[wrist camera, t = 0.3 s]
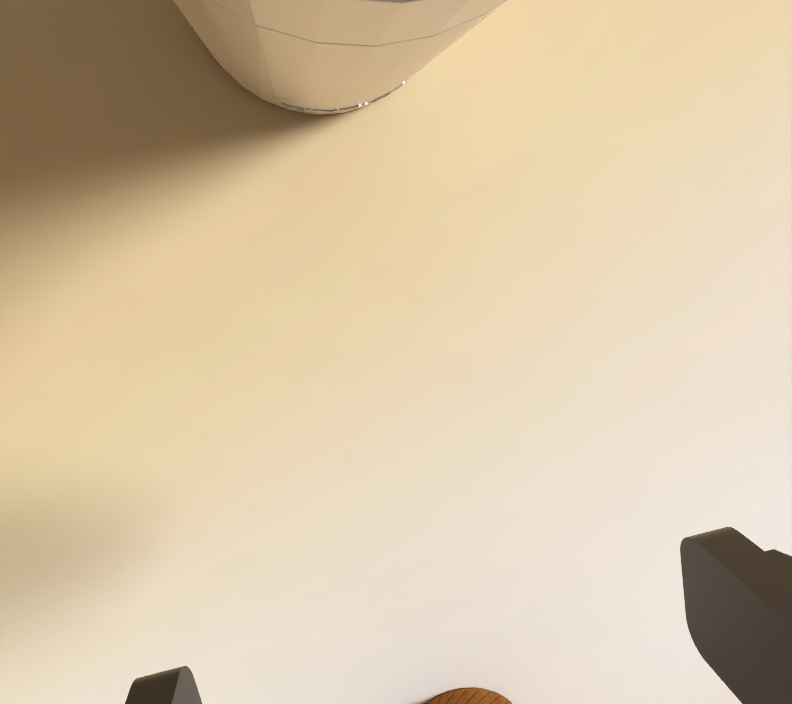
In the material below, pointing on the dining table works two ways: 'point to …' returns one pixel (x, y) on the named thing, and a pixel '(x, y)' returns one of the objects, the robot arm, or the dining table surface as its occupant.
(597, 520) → the dining table surface
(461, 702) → the disposable coffee cup
